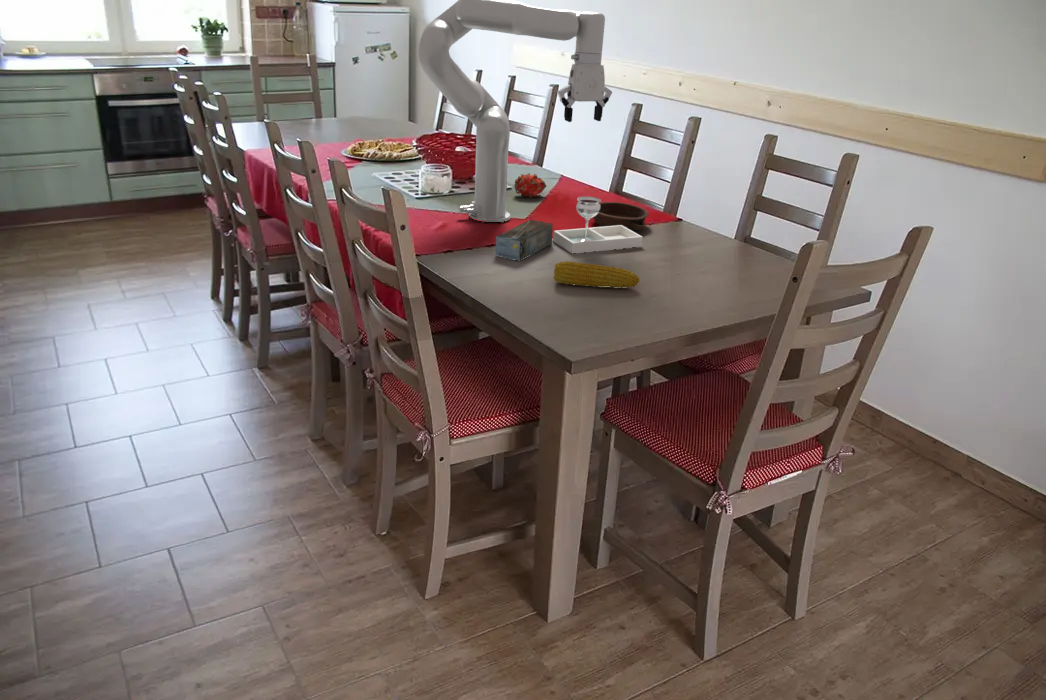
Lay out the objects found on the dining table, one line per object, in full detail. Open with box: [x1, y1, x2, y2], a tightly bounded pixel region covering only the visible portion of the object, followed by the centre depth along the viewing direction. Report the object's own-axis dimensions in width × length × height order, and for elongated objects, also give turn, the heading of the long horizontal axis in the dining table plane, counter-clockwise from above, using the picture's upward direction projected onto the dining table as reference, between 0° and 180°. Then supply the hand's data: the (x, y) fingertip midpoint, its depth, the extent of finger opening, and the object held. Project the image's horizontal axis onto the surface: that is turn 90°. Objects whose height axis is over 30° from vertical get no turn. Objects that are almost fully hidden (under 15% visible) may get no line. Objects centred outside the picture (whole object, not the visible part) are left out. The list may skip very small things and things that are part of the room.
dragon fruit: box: [513, 173, 547, 199], centre depth 277 cm, size 8×8×12 cm
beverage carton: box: [495, 219, 554, 261], centre depth 226 cm, size 8×19×7 cm, turn 151°
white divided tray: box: [552, 225, 643, 255], centre depth 235 cm, size 22×12×3 cm, turn 115°
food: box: [553, 260, 640, 288], centre depth 204 cm, size 21×6×6 cm, turn 88°
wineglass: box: [575, 195, 602, 242], centre depth 232 cm, size 7×7×12 cm
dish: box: [592, 201, 650, 232], centre depth 254 cm, size 18×22×5 cm
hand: (582, 120), depth 242 cm, fingers open, 9 cm apart
